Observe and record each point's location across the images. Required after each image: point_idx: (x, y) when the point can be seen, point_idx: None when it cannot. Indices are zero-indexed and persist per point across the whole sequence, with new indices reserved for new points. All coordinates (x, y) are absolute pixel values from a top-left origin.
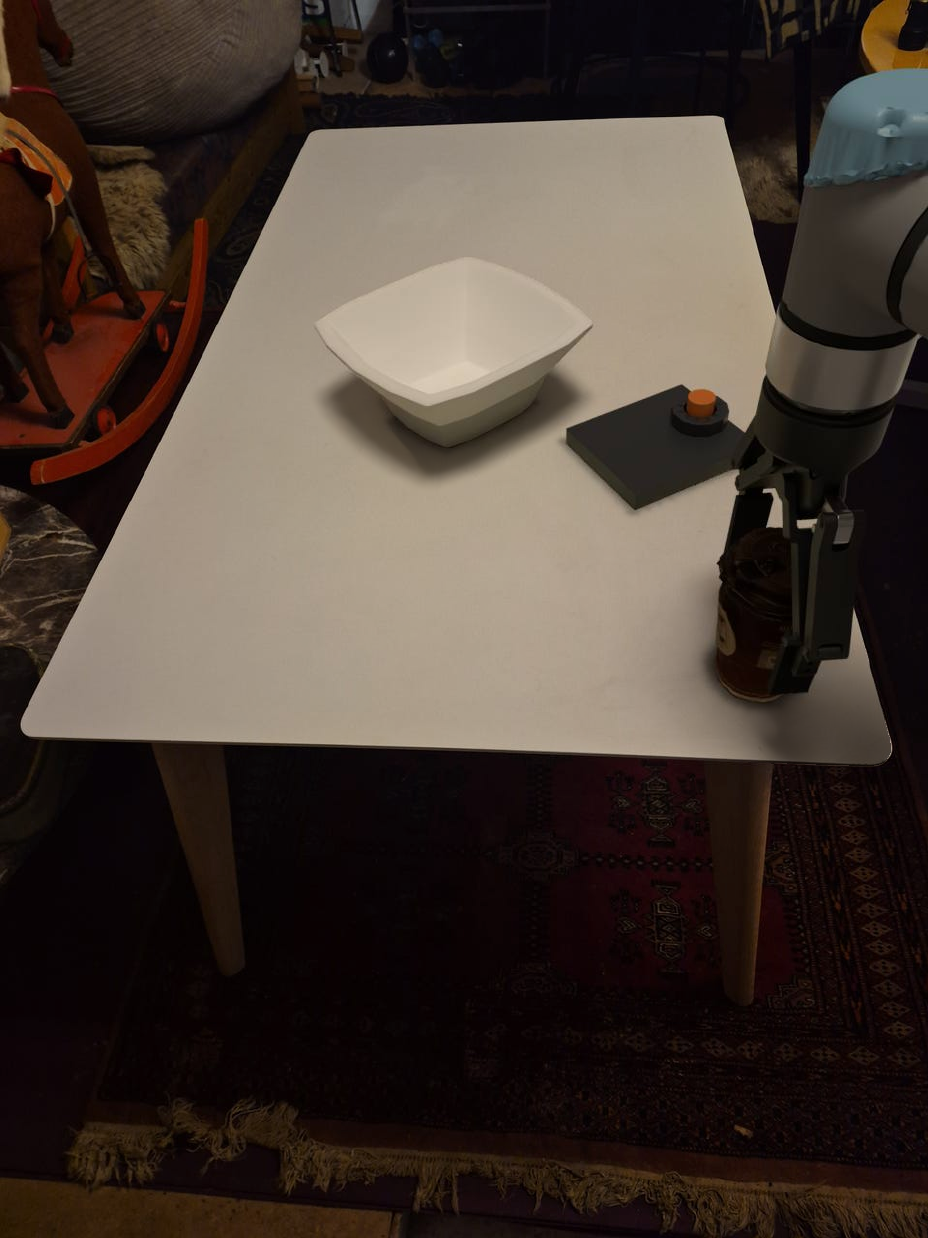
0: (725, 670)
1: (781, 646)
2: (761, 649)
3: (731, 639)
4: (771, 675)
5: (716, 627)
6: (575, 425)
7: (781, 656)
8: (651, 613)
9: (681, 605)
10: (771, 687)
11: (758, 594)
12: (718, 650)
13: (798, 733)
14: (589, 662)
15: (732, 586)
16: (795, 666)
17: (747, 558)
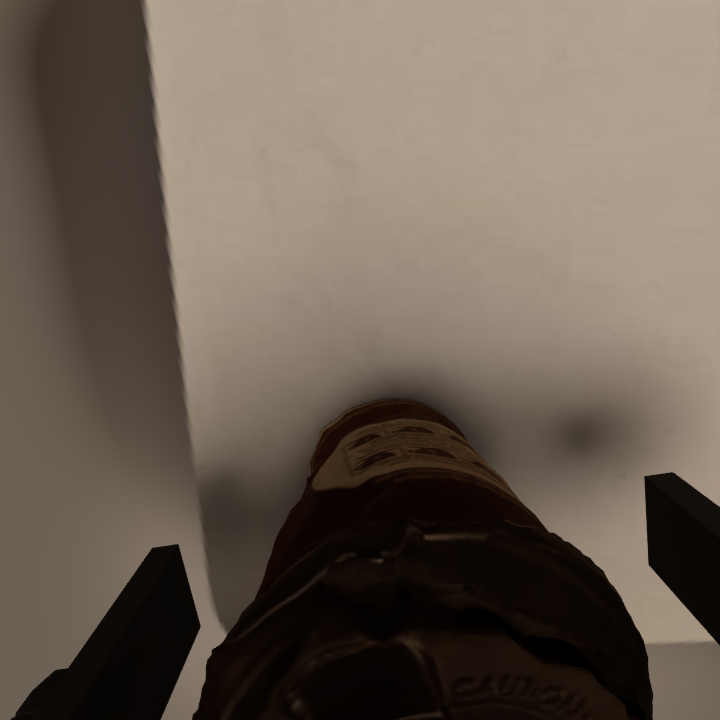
0: (364, 422)
1: (79, 692)
2: (271, 553)
3: (329, 473)
4: (152, 579)
5: (419, 426)
6: None
7: (72, 671)
8: (557, 263)
9: (581, 334)
10: (144, 564)
11: (253, 686)
12: (399, 415)
13: (246, 535)
14: (397, 108)
15: (334, 573)
16: (39, 704)
17: (445, 688)
